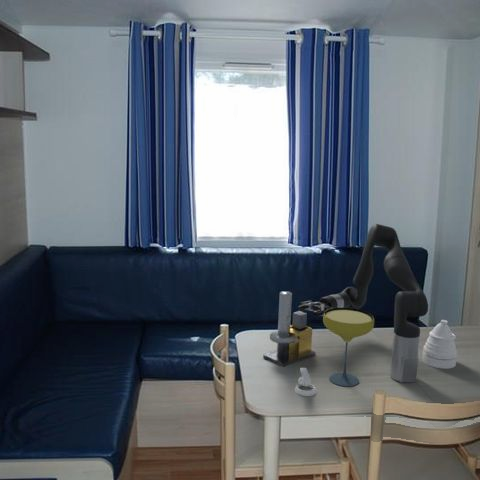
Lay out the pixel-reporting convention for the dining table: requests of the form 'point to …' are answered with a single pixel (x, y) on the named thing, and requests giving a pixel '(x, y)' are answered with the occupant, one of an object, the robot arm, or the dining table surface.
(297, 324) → the grey square peg
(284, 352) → the flanged pole stand
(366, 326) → the cocktail glass
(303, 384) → the white vr controller
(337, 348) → the dining table surface
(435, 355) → the honey pot
